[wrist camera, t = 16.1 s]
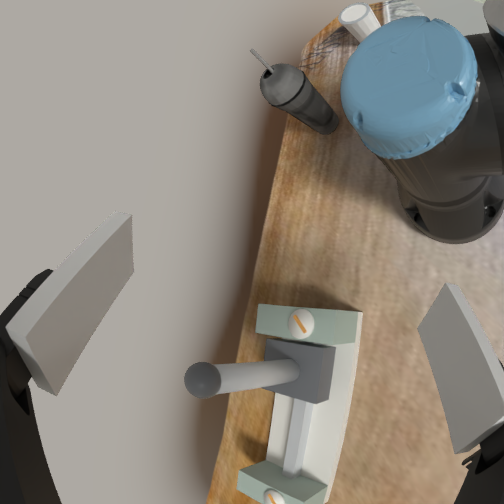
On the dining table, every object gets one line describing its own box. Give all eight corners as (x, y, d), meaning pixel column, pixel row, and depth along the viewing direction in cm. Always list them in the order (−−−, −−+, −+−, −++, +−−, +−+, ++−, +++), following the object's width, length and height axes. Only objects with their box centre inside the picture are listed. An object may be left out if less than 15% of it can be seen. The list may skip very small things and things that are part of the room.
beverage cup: (304, 125, 52) (222, 65, 38) (332, 100, 49) (255, 31, 35) (321, 149, 49) (234, 85, 35) (353, 121, 45) (273, 45, 31)
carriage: (280, 338, 42) (166, 336, 30) (336, 346, 36) (223, 355, 23) (274, 385, 41) (161, 399, 28) (328, 399, 35) (215, 433, 22)
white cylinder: (360, 27, 46) (342, 4, 41) (389, 24, 41) (372, 0, 37) (353, 49, 47) (333, 26, 42) (384, 47, 42) (365, 21, 37)
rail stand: (291, 307, 47) (255, 303, 41) (362, 312, 38) (333, 309, 33) (268, 475, 42) (233, 490, 36) (327, 500, 33) (295, 523, 28)
